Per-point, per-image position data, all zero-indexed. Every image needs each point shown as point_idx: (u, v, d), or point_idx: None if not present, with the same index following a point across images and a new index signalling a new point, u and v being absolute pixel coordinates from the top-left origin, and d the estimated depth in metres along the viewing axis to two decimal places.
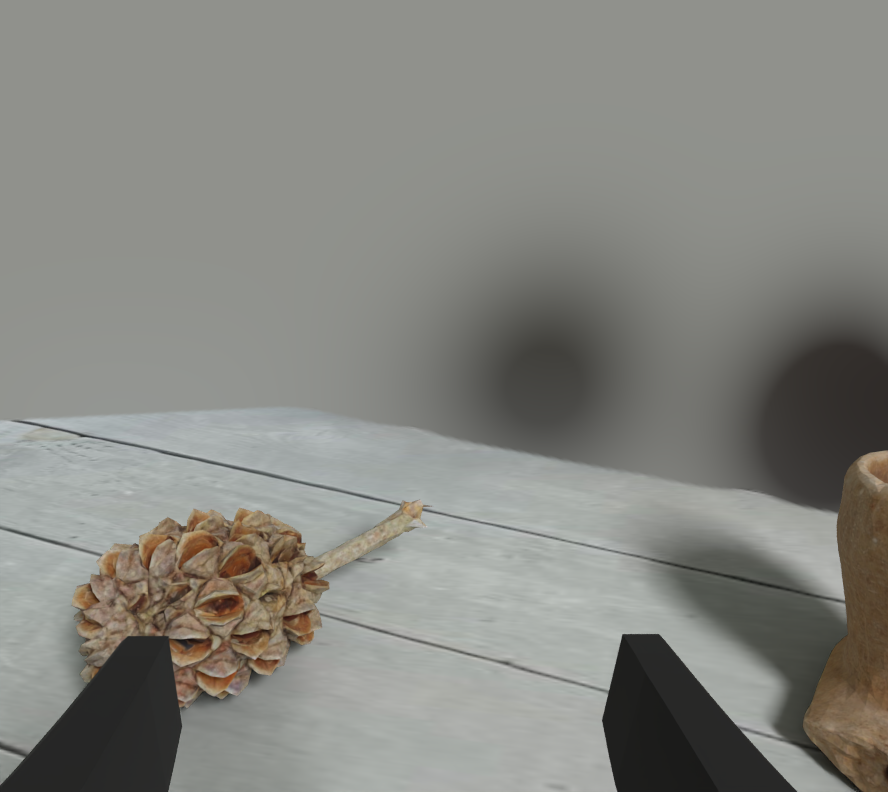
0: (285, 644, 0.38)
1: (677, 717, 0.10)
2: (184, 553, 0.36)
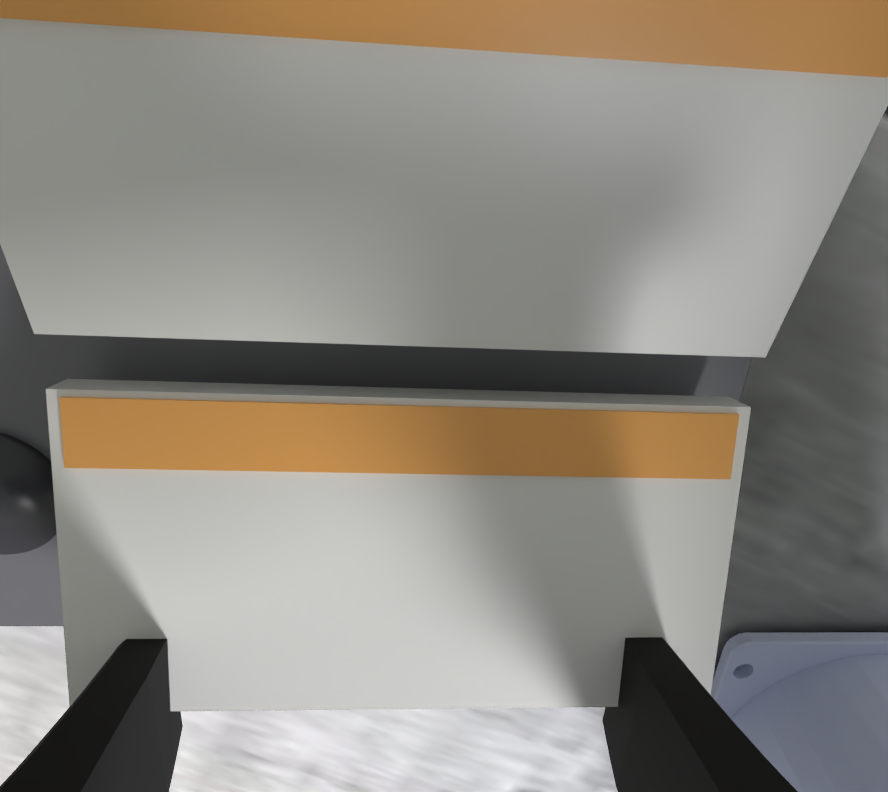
0: None
1: (678, 717, 0.10)
2: None
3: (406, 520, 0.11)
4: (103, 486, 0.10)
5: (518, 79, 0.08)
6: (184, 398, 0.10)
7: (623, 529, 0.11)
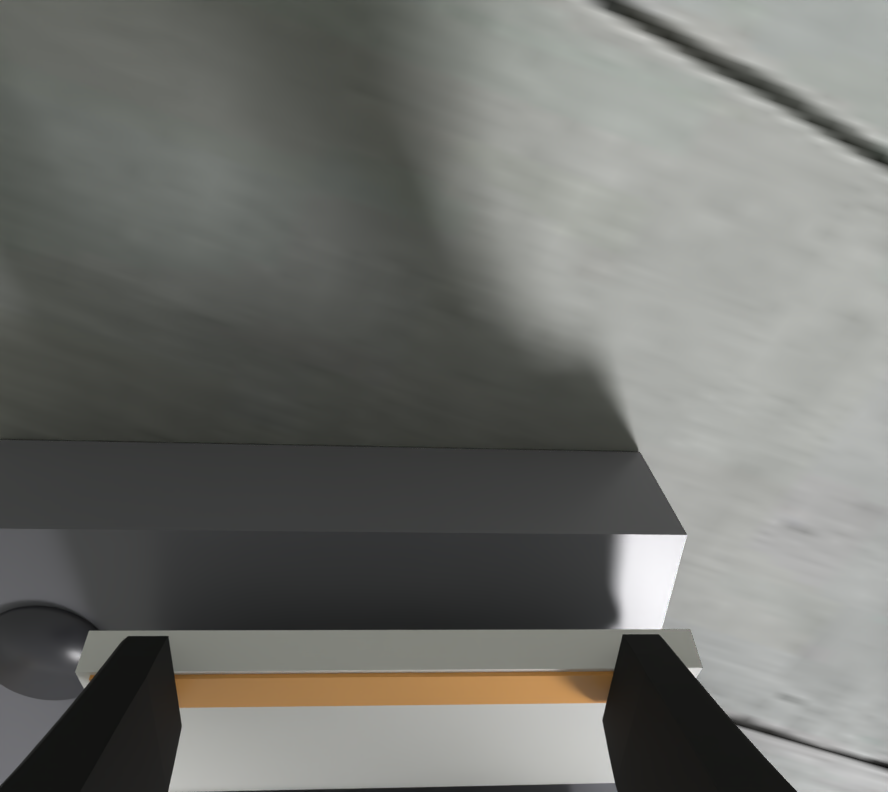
0: None
1: (677, 717, 0.10)
2: None
3: None
4: None
5: None
6: None
7: None
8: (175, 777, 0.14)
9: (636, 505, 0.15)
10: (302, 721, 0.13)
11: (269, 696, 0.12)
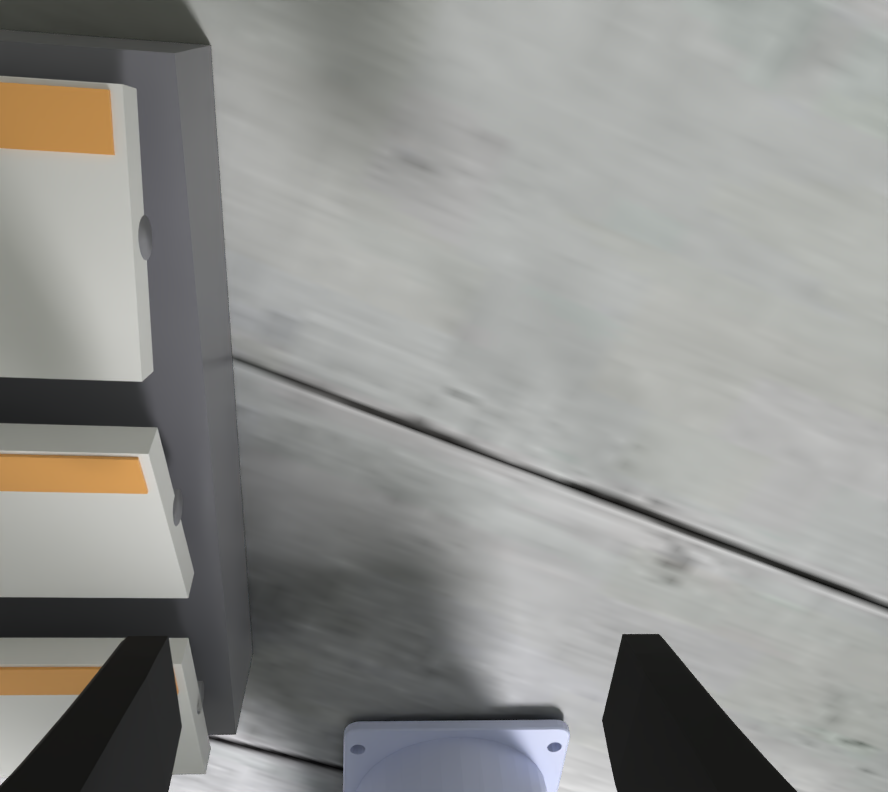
0: None
1: (677, 717, 0.10)
2: None
3: None
4: None
5: None
6: None
7: None
8: None
9: (147, 47, 0.14)
10: None
11: None
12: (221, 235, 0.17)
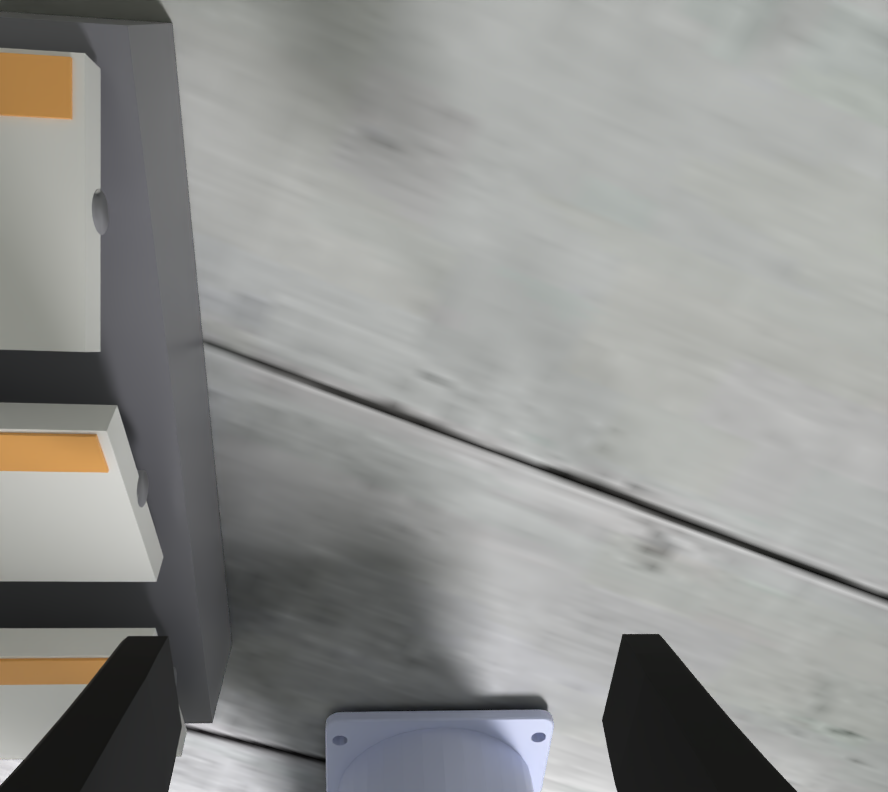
0: None
1: (677, 717, 0.10)
2: None
3: None
4: None
5: None
6: None
7: None
8: None
9: (103, 21, 0.14)
10: None
11: None
12: (187, 216, 0.17)
